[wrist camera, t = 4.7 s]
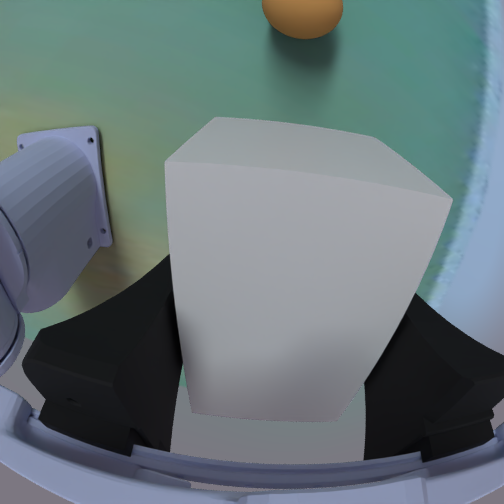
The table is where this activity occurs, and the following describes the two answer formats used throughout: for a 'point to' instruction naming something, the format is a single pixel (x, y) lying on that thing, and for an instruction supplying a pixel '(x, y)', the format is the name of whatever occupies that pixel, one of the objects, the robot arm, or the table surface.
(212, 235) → the off-white rectangular block
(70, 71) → the table surface
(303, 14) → the ball
